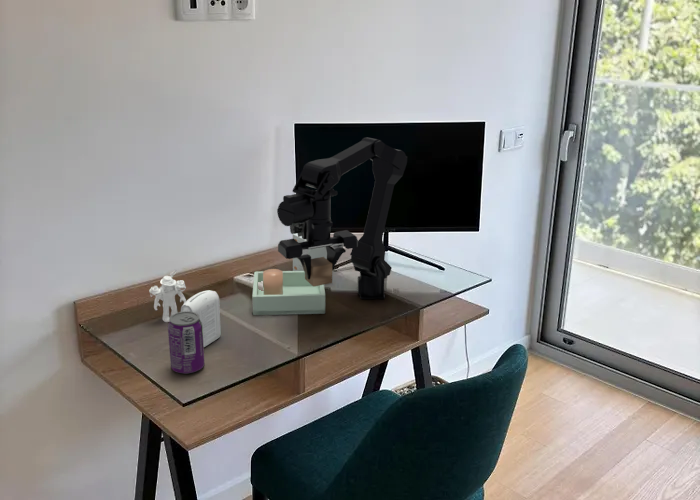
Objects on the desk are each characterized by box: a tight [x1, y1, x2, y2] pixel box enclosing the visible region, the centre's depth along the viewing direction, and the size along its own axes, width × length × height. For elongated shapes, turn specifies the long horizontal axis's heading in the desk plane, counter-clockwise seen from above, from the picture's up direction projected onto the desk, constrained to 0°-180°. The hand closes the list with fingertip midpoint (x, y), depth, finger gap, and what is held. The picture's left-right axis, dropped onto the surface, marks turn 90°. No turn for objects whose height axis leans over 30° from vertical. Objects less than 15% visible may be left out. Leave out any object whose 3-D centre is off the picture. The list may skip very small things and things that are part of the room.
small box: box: [292, 233, 327, 271], centre depth 201 cm, size 8×6×13 cm
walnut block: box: [305, 257, 333, 287], centre depth 177 cm, size 5×5×5 cm
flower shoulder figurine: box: [148, 269, 187, 323], centre depth 176 cm, size 9×4×12 cm, turn 127°
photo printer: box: [180, 289, 222, 348], centre depth 165 cm, size 10×4×12 cm, turn 151°
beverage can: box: [167, 311, 205, 375], centre depth 155 cm, size 7×7×12 cm
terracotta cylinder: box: [263, 268, 283, 295], centre depth 188 cm, size 5×5×7 cm
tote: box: [251, 270, 326, 316], centre depth 189 cm, size 18×16×5 cm
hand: (318, 276), depth 177 cm, fingers closed on walnut block, 5 cm apart
